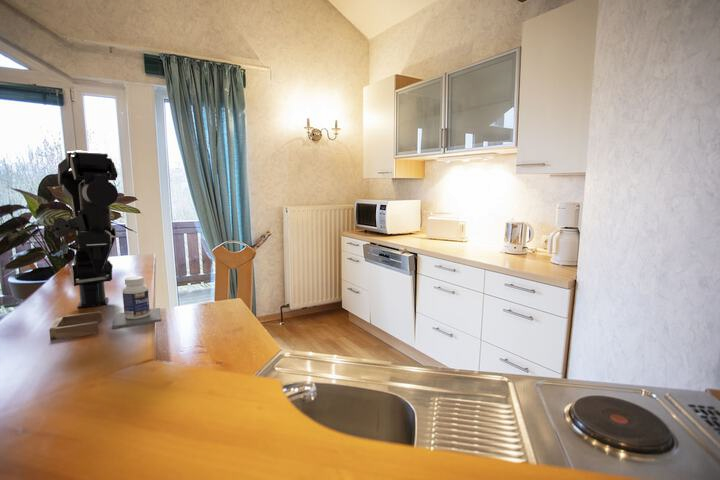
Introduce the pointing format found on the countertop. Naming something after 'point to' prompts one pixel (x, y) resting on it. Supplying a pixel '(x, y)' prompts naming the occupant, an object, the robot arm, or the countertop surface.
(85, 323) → the wooden u-shaped frame
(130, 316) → the pill bottle
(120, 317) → the slate coaster
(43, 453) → the countertop surface
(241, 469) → the countertop surface
